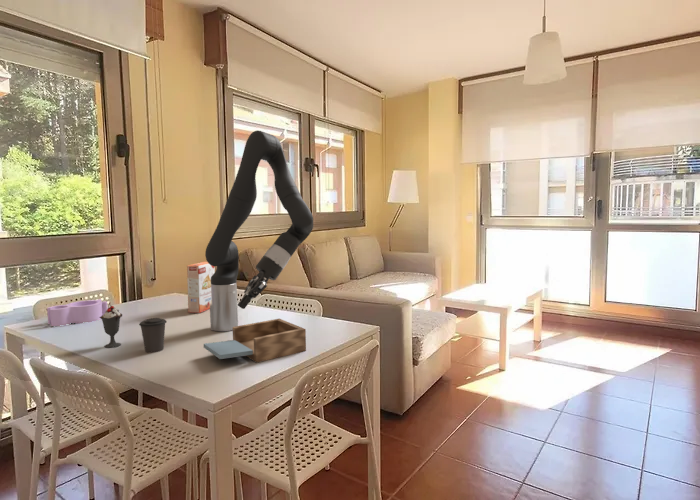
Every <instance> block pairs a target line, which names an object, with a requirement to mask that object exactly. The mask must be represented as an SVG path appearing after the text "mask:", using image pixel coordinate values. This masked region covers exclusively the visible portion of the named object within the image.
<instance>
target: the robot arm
mask: <svg viewBox="0 0 700 500" xmlns="http://www.w3.org/2000/svg"><path fill="white" fill-rule="evenodd" d="M261 160H262V161H265V162H267V163H268V165H269V166H270V168H271V170H272V173H273V174H274V189H275V192H276V194H277V197H278V199H279V202H280V203H281V205H282V207H283V209H284V210H285V211H287V214H288V216H289V218H290V220H291V221H290V222H291V225H290V226H289V227H288V228H287V230H286V231H283V232H281V233H280V235H279V236H278V237H277V239H276V240H275V241H274V242H273V244H272V245H271V246H270V247H269V248H268V249H267V250H266V251H265V253H264V254H263V256H261V259H260V260H259V261H258V262H257V264H256V266H255V269H256V270H257V271H258V273H257V274H256V275H255V274H254V276H253V277H252V278H251V279H250V280H249V281H248V284H247V286H246V288H245V290H244V291H243V293H244V295H243V296H242V298H241V299H240V300H239V302H238V287H237V286H238V285H237V284H238V283H237V282H238V280H237V279H238V275H239V266H240V265H239V261H240V260H239V258H240V255H239V249H238V246H237V244H236V243H235V242H234V241H233V238H234V236H235V234H236V233H237V232H238V230H239V229H240V228H241V226H242V225H243V224H244V223H245V222H246V220H247V219H248V218H249V216H250V215H251V212H252V210H253V208H254V205H255V203H256V200H257V196H258V195H257V194H258V192H257V181H256V175H257V170H258V167H259V165H260V162H261ZM224 205H225V206H224V208H223V210H222V212H221V214H220V215H221V216H220V218H219V221H218V224H217V226H216V228H215V230H214V232H213V234H212V236H211V238H210V239H209V241H208V243H207V245H206V248H205V259H206V262H208V263H209V264H210V265H212V266H215V267H216V269H215V273H214V274H213V275H212V276H211V298H212V304H211V305H210V309H209V317H210V318H209V319H210V321H209V322H210V331H216V332H229V331H230V332H231V331H233V327H235V326H239V317H238V316H239V314H238V312H239V310H238V307H239V308H241V309H242V310H245V309H246V308H247V306H248V305H249V303H250V302H251V301H252V300H253V299H256V298H257V296H259V295H260V294H261V293H262V292H263V291H264V290H265V289H266V288H267V287H268V281H269V280H271V281H276V280H277V279H278V277H279V276H280V275H281V272H283V270H284V269H285V268H286V266H287V265H288V263H289V261H290V259H291V257H292V256H293V255H294V253H295V252H296V251H297V249H298V247H299V246H301V245H302V243H304V241H305V240H306V239H307V238H308V237H309V236H310V234H311V233H312V231H313V229H314V216H313V214H312V212H311V209H310V208H309V207H308V204H307V203H306V201H304V199H303V197H302V194H301V193H300V191H299V189H298V187H297V184H296V183H295V181H294V179H293V176H292V174H291V171H290V169H289V164H288V163H287V159H286V156H285V153H284V150H283V147H282V144H281V142H280V139H279V138H278V137H277V136H275V135H273V134H270V133H267V132H265V131H262V130H255V131H253V132H252V133H250V134H249V135H248V137H247V139H246V141H245V146H244V149H243V153H242V157H241V160H240V164H239V167H238V170H237V174H236V176H235V179H234V182H233V184H232V187H231V189H230V191H229V195H228V196H227V199H226V202H225V204H224Z"/></svg>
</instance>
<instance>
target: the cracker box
mask: <svg viewBox="0 0 700 500" xmlns="http://www.w3.org/2000/svg"><path fill="white" fill-rule="evenodd" d="M215 267H216V266H212V265H210V264H209V263H208V262H207V261H201V262H198V263H197V262H196V263H192V264H188V265H186V275H187V276H186V277H187V278H186V279H187V301H188V302H187V305H188V308H187V309H188V310H187V311H188V314H189V313H191V314H192V313H193V314H201V313H203V312H205V311H208V310H210V305H211V304H212V298H211V276H212V275H213V274H214V273H215V272H216V269H215Z"/></svg>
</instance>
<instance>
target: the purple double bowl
mask: <svg viewBox="0 0 700 500" xmlns="http://www.w3.org/2000/svg"><path fill="white" fill-rule="evenodd" d="M107 309H108V301H104V300H103V301H102V299H100V298H99V299H88V300H77V301H73V302H69V303H67V304H58V305H53V306H48V307H47V308H46V311H47V325H48V324H51V325H50V327H51V326H59V327H61V326H60V325H65V326H67V325H66V324H69V325H71V324H70V323H76V324H84V323H83V322H88V323H93V322H92V321H94V322H97V321H96V320H98V321H100V320H102V319H101V318H99V317H101V316H102V315H104V314H105V312H106V310H107Z"/></svg>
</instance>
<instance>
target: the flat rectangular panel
mask: <svg viewBox="0 0 700 500" xmlns="http://www.w3.org/2000/svg"><path fill="white" fill-rule="evenodd" d="M203 349H205V350H206V351H208V352H209V353H210V354H212V355H214V356H215V357H217V358H218V359H219V360H223V359H224V360H225V359H230V358H231V359H232V358H236V357H238V358H239V357H247V356H246V355H253V350H251V349H249V348H248V347H246V346H244V345H243V344H241V343H239V342H237V341H236V340H233V339H231V340H223V341H216V342H206V343H203Z"/></svg>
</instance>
